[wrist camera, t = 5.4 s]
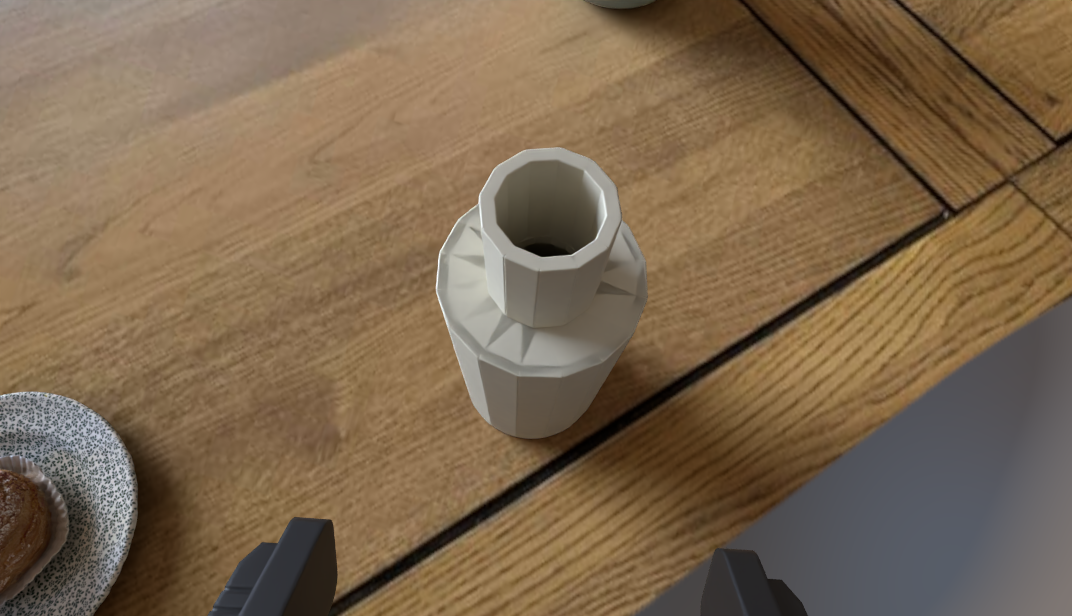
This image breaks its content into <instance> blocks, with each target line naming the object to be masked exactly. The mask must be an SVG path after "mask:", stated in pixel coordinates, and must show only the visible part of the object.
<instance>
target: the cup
mask: <svg viewBox="0 0 1072 616" xmlns="http://www.w3.org/2000/svg"><path fill="white" fill-rule="evenodd" d="M585 1H586V2H589V3H591V4H594V5H597V6H601V7H605V8H613V9H631V8H637V7H642V6H645V5H648V4H650V3H653V2H655V1H657V0H585Z"/></svg>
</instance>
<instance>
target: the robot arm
mask: <svg viewBox="0 0 1072 616" xmlns="http://www.w3.org/2000/svg"><path fill="white" fill-rule="evenodd" d="M336 585H337V561H336V550H335V539H334V528H333V522H332V520H328V519H314V518H300V517H294V518H293V519H292V520H291V521H290V522H289V524H288V526H287V527H286V529H285V531H284V533H283V535H282V537H281V538H280V540H279V542H278V543H265V542H262V543H261V544H260V545H259V546H257V547H256V548H255V549H254V550H253V551H252V552H251V553H250V554H248V555H247V556H246V557H245V558H244V559H243V560H242V561H240V562H239V564H238V566H237V567H236V569H235V571H234V572H233V574H232V576H231V577H230V579H229V581H228V582H227V584H226V586H225V590H224V591H222V592H221V594H220V596H219V597H218V599H217V601H216V602H215V604H214V606H213V610H212V611H210V612H209V614H208V616H328V613H329V610H330V608H331V605H332V602H333V599H334V595H335V591H336ZM701 616H808V615H807V613H806V611H805V609H804V606H803V604H802V602H801V601H800V600H799V599H798V598H797V597H796V596H795V595H794V593H793V592H792V591H791V590H790V589H789V588H788V587H787V585H786V584H785V583H784V582H783V581H782V580H776V579H767V577H766V574H765V571H764V569H763V567H762V564H761V562H760V559H759V557H758V555H757V554H756V553H755V552H754V551H750V550H736V549H723V548H717V549H716V550H715V552H714V554H713V558H712V562H711V565H710V569H709V573H708V577H707V580H706V584H705V588H704V591H703V595H702V600H701Z"/></svg>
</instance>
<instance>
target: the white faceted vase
mask: <svg viewBox="0 0 1072 616" xmlns="http://www.w3.org/2000/svg"><path fill="white" fill-rule="evenodd" d="M436 293H437V296H438V299H439V302H440V306H441V309H442V312H443V315H444V318H445V321H446V324H447V327H448V330H449V333H450V336H451V339H452V343H453V346H454V349H455V352H456V355H457V358H458V361H459V364H460V367H461V370H462V373H463V376H464V380H465V383H466V385H467V388H468V391H469V394H470V397H471V400H472V403H473V405H474V407H475V408H476V409H477V410H478V412H479V413H480V414H481V416H482V417H483V418H484V419H485V420H486V421H487V422H488V423H489V424H491V425H492V426H493V427H495V428H496V429H498V430H500V431H502V432H503V433H506V434H508V435H511V436H514V437H519V438H526V439H538V438H544V437H549V436H552V435H555V434H557V433H559V432H562V431H564V430H565V429H567V428H569V427H570V426H571V425H572V424H573V423H575V422H576V421H577V420H578V419H579V418H580V417H581V415H582V414H583V413H584V412H585V411H586V410H587V409H588V407H589V406H590V404H591V403H592V401H593V399H594V398H595V396H596V394H597V393H598V391H599V389H600V388H601V386H602V385H603V383H604V381H605V380H606V378H607V376H608V375H609V373H610V371H611V370H612V368H613V367H614V365H615V363H616V362H617V360H618V358H619V357H620V355H621V353H622V352H623V350H624V349H625V347H626V345H627V344H628V342H629V340H630V339H631V337H632V335H633V334H634V331H635V329H636V327H637V324H638V322H639V319H640V317H641V314H642V312H643V309H644V307H645V304H646V302H647V298H648V294H647V273H646V261H645V258H644V256H643V254H642V252H641V250H640V248H639V246H638V244H637V242H636V240H635V238H634V236H633V234H632V231H631V229H630V227H628V225H627V224H626V223H625V222H624V221H623V220H622V213H621V207H620V201H619V196H618V190H617V187H616V185H615V184H614V183H613V181H612V180H611V179H610V178H609V177H608V176H607V175H606V174H605V172H604V171H603V170H602V169H601V168H600V167H599V166H598V165H597V163H596V162H595V161H593V160H592V159H589V158H586V157H584V156H581V155H579V154H576V153H574V152H571V151H569V150H566V149H563V148H561V149H560V148H544V149H529V150H524V151H522V152H520V153H519V154H517V155H515V156H513V157H512V158H510V159H508V160H507V161H505V162H503V163H501V164H500V165H498V166H496V168H494V170H493V172H492V173H491V175H490V177H489V179H488V181H487V182H486V184H485V186H484V188H483V190H482V191H481V193H480V195H479V204H477V205H476V206H475V207H473V208H472V209H471V210H470V211H468V212H467V213H466V214H465V215H463V216H462V217H461V218H459V220H458V221H457V222H456V224H455V226H454V228H453V229H452V231H451V233H450V235H449V236H448V238H447V240H446V242H445V244H444V245H443V247H442V249H441V251H440V254H439V261H438V272H437V282H436Z"/></svg>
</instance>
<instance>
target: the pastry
mask: <svg viewBox="0 0 1072 616" xmlns="http://www.w3.org/2000/svg"><path fill="white" fill-rule="evenodd" d="M134 467H135V466H134V463H133V461H132V456H131V454H130V453H129V452H128V450H127V448H126V447H125V444H124V442H123V441H122V439H121V437H120V436H119V434H118V433H117V432H116V431H115V430H114V428H113V427H112V426H111V425H110V424H109V423H108V422H107V421H106V420H105V419H104V418H103V417H102V416H100V415H99V414H98V413H96V412H95V411H93V410H91V409H90V408H88V407H87V406H85V405H83V404H81V403H79V402H77V401H76V400H73V399H70V398H67V397H63V396H61V395H55V394H50V393H43V392H19V393H12V394H5V395H2V396H0V616H93V615H94V613H95V611H96V610H97V609H98V607H99V605H100V604H102V603H103V601H104V600H105V598H106V597H107V595H108V594H109V593H110V588H111V587H112V585H113V584H114V583H115V581H116V580H117V577H118V575H119V574H120V572H121V569H122V566H123V563H124V561H125V560H126V558H127V556H128V552H129V549H130V545H131V540H132V538H133V535H134V530H135V527H136V522H137V515H138V511H137V505H138V503H137V499H138V488H137V487H138V484H137V478H136V474H135V471H134Z"/></svg>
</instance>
